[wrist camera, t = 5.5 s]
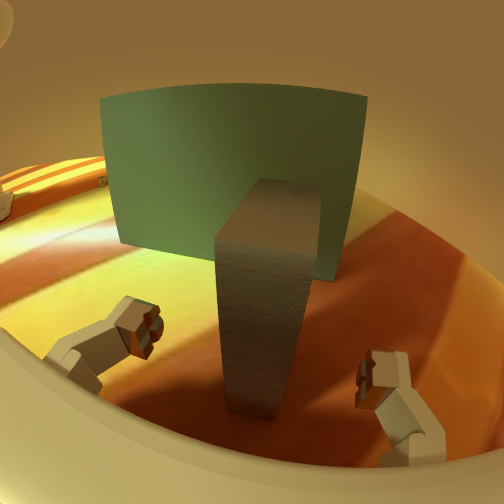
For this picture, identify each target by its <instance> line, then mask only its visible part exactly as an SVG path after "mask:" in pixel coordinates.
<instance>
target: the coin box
mask: <svg viewBox="0 0 504 504" xmlns="http://www.w3.org/2000/svg"><path fill="white" fill-rule="evenodd" d="M367 99H368V97H367V96H362V95H357V94H351V93H346V92H340V91H333V90H327V89H318V88H311V87H302V86H291V85H277V84H253V83H224V84H223V83H221V84H198V85H185V86H174V87H164V88H156V89H149V90H142V91H136V92H130V93H124V94H119V95H114V96H109V97H105V98H100V114H101V127H102V137H103V147H104V155H105V163H106V170H107V177H108V183H109V189H110V195H111V200H112V205H113V211H114V216H115V220H116V225H117V230H118V234H119V238H120V242H121V243H123V244H128V245H133V246H138V247H144V248H149V249H154V250H159V251H164V252H169V253H174V254H180V255H185V256H190V257H196V258H201V259H206V260H212V261H215V255H214V237H215V236H216V235H217V233H218V232H219V230H220V229H221V228H222V226H223V225H224V224H225V222H226V221H227V220H228V218H229V217H230V216H231V214H232V213H233V212H234V210H235V209H236V208H237V206H238V205H239V204H240V202H241V201H242V200H243V198H244V197H245V196H246V194H247V193H248V192H249V190H250V189H251V188H252V187H253V185H254V184H255V183H256V181H257V180H258V179H259V178H268V179H276V180H284V181H291V182H299V183H305V184H312V185H319V186H322V192H321V209H320V223H319V236H318V247H317V257H316V262H315V267H314V272H313V277H312V278H313V279H319V280H325V281H331V282H334V279H335V275H336V271H337V267H338V264H339V260H340V255H341V251H342V247H343V243H344V239H345V234H346V230H347V225H348V221H349V216H350V211H351V206H352V201H353V196H354V191H355V185H356V180H357V174H358V167H359V162H360V155H361V149H362V142H363V134H364V126H365V118H366V109H367Z"/></svg>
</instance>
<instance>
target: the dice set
mask: <svg viewBox="0 0 504 504" xmlns="http://www.w3.org/2000/svg"><path fill="white" fill-rule="evenodd" d="M97 181H98V186H99V187H102V186H105V185H106V183H108V177H105V176H103V177H99V178H98V179H97Z"/></svg>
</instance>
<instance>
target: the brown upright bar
mask: <svg viewBox="0 0 504 504" xmlns="http://www.w3.org/2000/svg"><path fill="white" fill-rule="evenodd" d="M321 192H322V186H319V185H312V184H305V183H299V182H291V181H284V180H276V179H268V178H259V179H258V180H257V181H256V183H255V184H254V185H253V187H252V188H251V189H250V190H249V192H248V193H247V194H246V196H245V197H244V198H243V200H242V201H241V202H240V204H239V205H238V206H237V208H236V209H235V210H234V212H233V213H232V214H231V216H230V217H229V218H228V220H227V221H226V222H225V224H224V225H223V226H222V228H221V229H220V230H219V232H218V233H217V235H216V236H215V237H214V255H215V273H216V290H217V305H218V318H219V331H220V343H221V355H222V366H223V376H224V386H225V396H226V405H227V410H230V411H234V412H238V413H242V414H246V415H250V416H254V417H259V418H264V419H269V420H274V421H275V420H276V417H277V413H278V410H279V407H280V404H281V400H282V397H283V393H284V390H285V386H286V383H287V379H288V376H289V372H290V369H291V365H292V361H293V357H294V354H295V350H296V346H297V342H298V338H299V334H300V330H301V326H302V321H303V317H304V313H305V309H306V304H307V300H308V295H309V291H310V286H311V281H312V277H313V272H314V267H315V262H316V257H317V247H318V236H319V223H320V209H321Z"/></svg>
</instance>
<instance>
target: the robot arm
mask: <svg viewBox="0 0 504 504" xmlns="http://www.w3.org/2000/svg"><path fill="white" fill-rule="evenodd" d="M13 20H14V15H13V10H12V7H11V6H10V4H9V3H7V2H6V1H4V0H0V48H1V47H2V46H3V45H4V43H5V41H6V40H7V38H8V36H9V34H10V32H11V29H12V26H13ZM13 197H14V194H13V191H9V192H5V193H3V189H2V185H1V181H0V221H1V220H2V219H4V218H6V217H7V216H8V215H9V214H10V211H11V206H12V201H13ZM160 312H161V311H160V308H159V306H157V305H154V304H151V303H148V302H145V301H142V300H139V299H136V298H133V297H130V296H125V297H123V299H122V300H121V301H120V302H119V303H118V305H117V306H116V307H115V308H114V309H113V311H112V312H111V313H110V314H109V316H108V317H107V318H106V319H105V321H103V320H101V321H98V322H96V323H94V324H92V325H89V326H87V327H85V328H83V329H81V330H78V331H76V332H74V333H72V334H69V335H67V336H65V337H63V338H61V339H59V340H58V341H57V342H56V343H55V345H54V346H53V347H52V348H51V350H50V351H49V352H48V353H47V355H46V356H45V357H44V359H43V360H42V359H40V358H39V357H38V356H36V355H35V354H34V353H32V352H31V351H30V350H29V349H27V348H26V347H25V346H24V345H22V344H21V343H20V342H19V341H18V340H16V339H15V338H14V337H13V336H12V335H11V334H10V333H8V332H7V331H6V330H5V329H4V328H1V327H0V504H504V447H503V448H500V449H496V450H493V451H490V452H486V453H482V454H478V455H474V456H470V457H466V458H461V459H456V460H451V461H447V455H446V434H445V430H444V428H443V427H442V425H441V424H440V422H439V421H438V420H437V418H436V417H435V415H434V414H433V413H432V411H431V410H430V408H429V407H428V406H427V404H426V403H425V401H424V400H423V399H422V397H421V396H420V395H419V393H418V392H417V391H416V389H412V385H411V376H410V368H409V361H408V354H407V353H406V352H399V351H391V350H380V349H369V350H368V351H367V352H366V354H365V360H363V361H361V363H360V365H359V367H358V370H357V375H356V385H357V386H358V388H359V389H358V391H357V392H356V394H355V409H364V410H375V413H376V415H377V417H378V419H379V421H380V423H381V425H382V427H383V429H384V431H385V433H386V435H387V437H388V439H389V441H390V443H391V445H392V448H391V449H389V450H388V451H386V452H385V453H383V454H382V455H381V456H380V461H379V468H351V467H332V466H320V465H310V464H302V463H294V462H288V461H281V460H275V459H270V458H265V457H260V456H255V455H251V454H246V453H242V452H238V451H234V450H230V449H227V448H223V447H219V446H216V445H213V444H209V443H206V442H203V441H200V440H197V439H194V438H191V437H188V436H185V435H182V434H180V433H177V432H174V431H172V430H169V429H166V428H164V427H161V426H159V425H157V424H154V423H152V422H150V421H147V420H145V419H143V418H141V417H138V416H136V415H134V414H132V413H130V412H128V411H126V410H124V409H122V408H120V407H118V406H116V405H114V404H112V403H110V402H108V401H106V400H104V399H103V398H101V397H99V396H98V394H99V392H100V391H101V389H102V387H103V385H102V383H101V382H100V380H99V379H98V378H97V376H98V375H100V374H101V373H103V372H104V371H106V370H107V369H109V368H111V367H112V366H114V365H115V364H117V363H119V362H120V361H122V360H123V359H125V358H126V357H128V356H129V355H130V354H131V355H133V356H136V357H139V358H142V359H144V360H147V359H148V357H149V356H150V354H151V352H152V351H153V349H154V346H153V343H155V342H157V341H159V339H160V338H161V336H162V333H163V330H164V323H163V319H162V318H161V317H160V316H159V313H160Z"/></svg>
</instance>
